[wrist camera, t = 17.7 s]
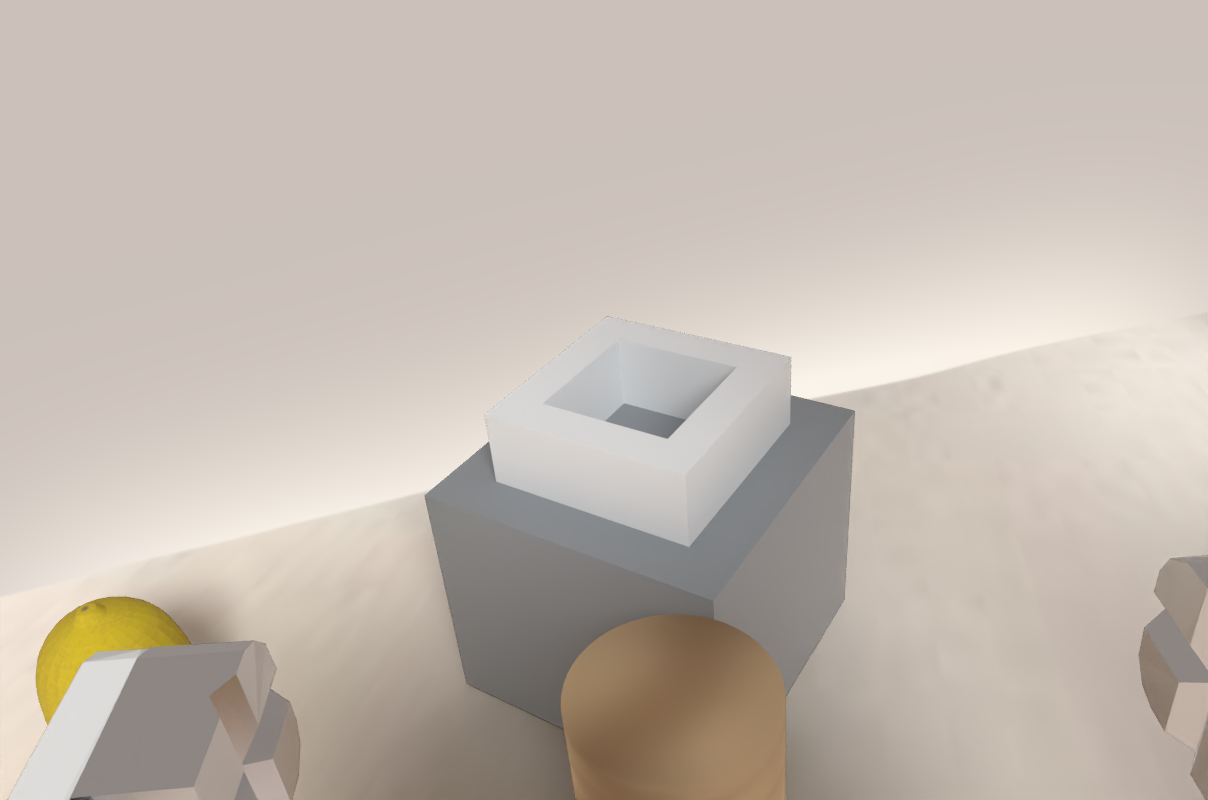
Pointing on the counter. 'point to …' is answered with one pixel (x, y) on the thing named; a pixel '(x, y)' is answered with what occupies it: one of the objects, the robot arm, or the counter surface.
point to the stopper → (675, 714)
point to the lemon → (98, 641)
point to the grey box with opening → (643, 508)
